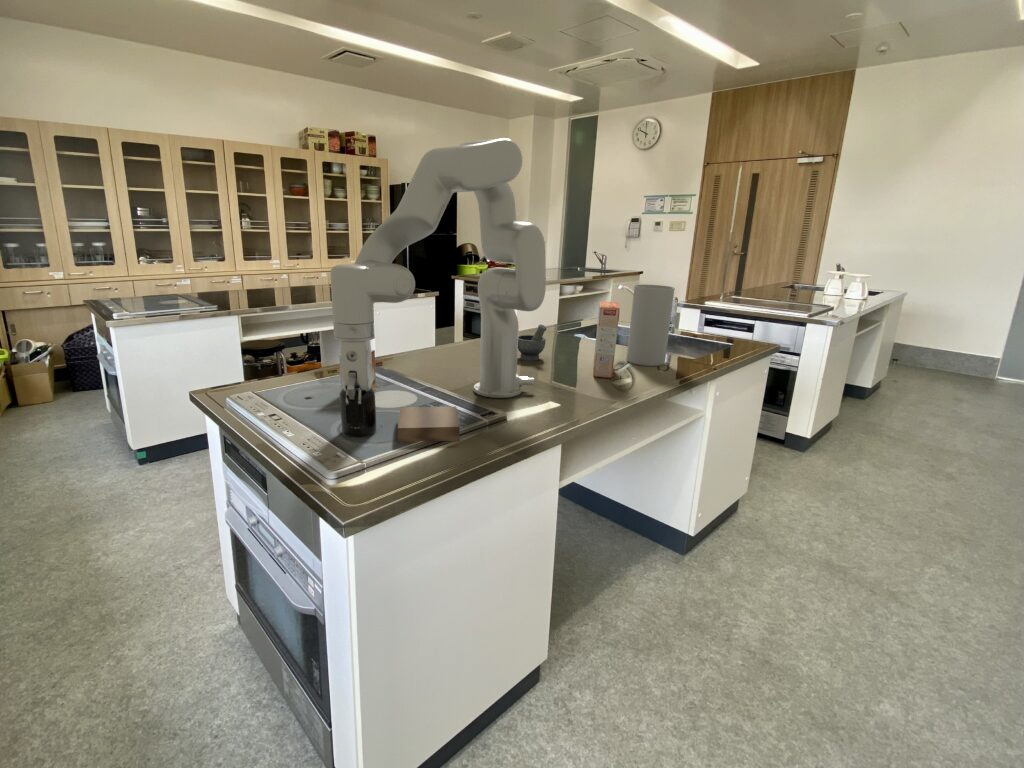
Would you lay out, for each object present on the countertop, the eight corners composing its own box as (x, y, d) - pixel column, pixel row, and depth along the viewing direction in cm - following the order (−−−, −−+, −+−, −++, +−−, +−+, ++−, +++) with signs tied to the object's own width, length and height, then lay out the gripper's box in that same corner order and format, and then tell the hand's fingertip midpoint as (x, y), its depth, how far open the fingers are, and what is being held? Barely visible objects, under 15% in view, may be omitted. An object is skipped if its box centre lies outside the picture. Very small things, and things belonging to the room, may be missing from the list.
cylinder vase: (627, 365, 166) (636, 287, 159) (625, 356, 178) (632, 283, 171) (667, 368, 165) (677, 289, 158) (661, 359, 177) (671, 285, 170)
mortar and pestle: (509, 357, 171) (510, 321, 168) (529, 353, 177) (531, 318, 174) (532, 364, 163) (534, 326, 160) (553, 360, 169) (555, 324, 166)
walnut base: (456, 419, 114) (456, 406, 113) (459, 440, 102) (459, 426, 101) (400, 420, 112) (400, 407, 111) (397, 442, 100) (397, 428, 99)
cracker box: (613, 379, 150) (620, 307, 144) (592, 377, 151) (599, 306, 145) (612, 367, 163) (618, 301, 157) (593, 365, 164) (598, 300, 158)
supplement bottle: (345, 425, 108) (342, 370, 104) (379, 425, 108) (377, 371, 105) (338, 438, 101) (334, 380, 98) (373, 438, 102) (371, 380, 98)
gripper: (369, 340, 91) (373, 429, 96) (378, 322, 107) (380, 400, 112) (325, 339, 90) (331, 430, 95) (340, 322, 106) (345, 400, 111)
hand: (358, 414), depth 104 cm, fingers open, 9 cm apart
